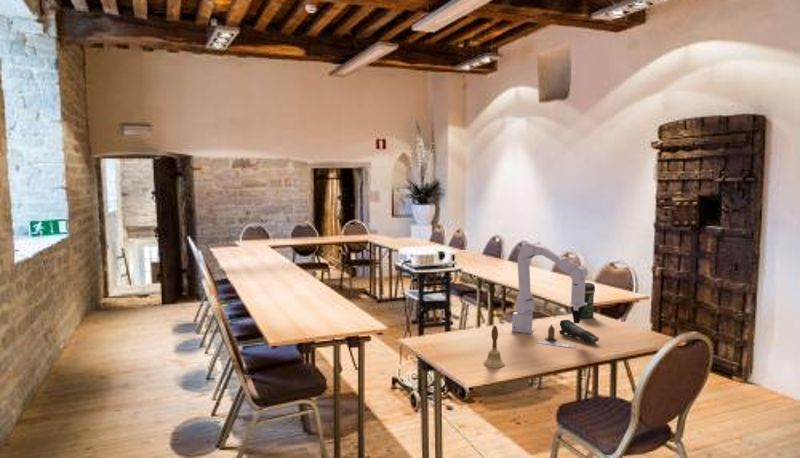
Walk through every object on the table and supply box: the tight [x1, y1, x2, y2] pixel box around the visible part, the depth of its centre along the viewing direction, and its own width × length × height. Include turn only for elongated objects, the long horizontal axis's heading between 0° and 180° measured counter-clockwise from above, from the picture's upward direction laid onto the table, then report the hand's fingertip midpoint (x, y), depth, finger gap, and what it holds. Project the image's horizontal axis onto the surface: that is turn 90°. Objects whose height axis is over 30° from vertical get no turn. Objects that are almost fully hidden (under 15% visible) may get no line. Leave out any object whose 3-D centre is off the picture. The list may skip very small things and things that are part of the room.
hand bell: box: [483, 325, 505, 369], centre depth 211 cm, size 8×8×16 cm
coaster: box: [545, 337, 558, 342], centre depth 244 cm, size 5×5×1 cm
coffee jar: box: [581, 282, 596, 319], centre depth 284 cm, size 10×8×19 cm
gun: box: [558, 319, 600, 345], centre depth 246 cm, size 4×20×10 cm, turn 29°
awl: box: [547, 324, 555, 340], centre depth 244 cm, size 3×3×7 cm
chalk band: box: [536, 340, 576, 349], centre depth 238 cm, size 16×4×1 cm, turn 66°
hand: (576, 322), depth 240 cm, fingers closed
